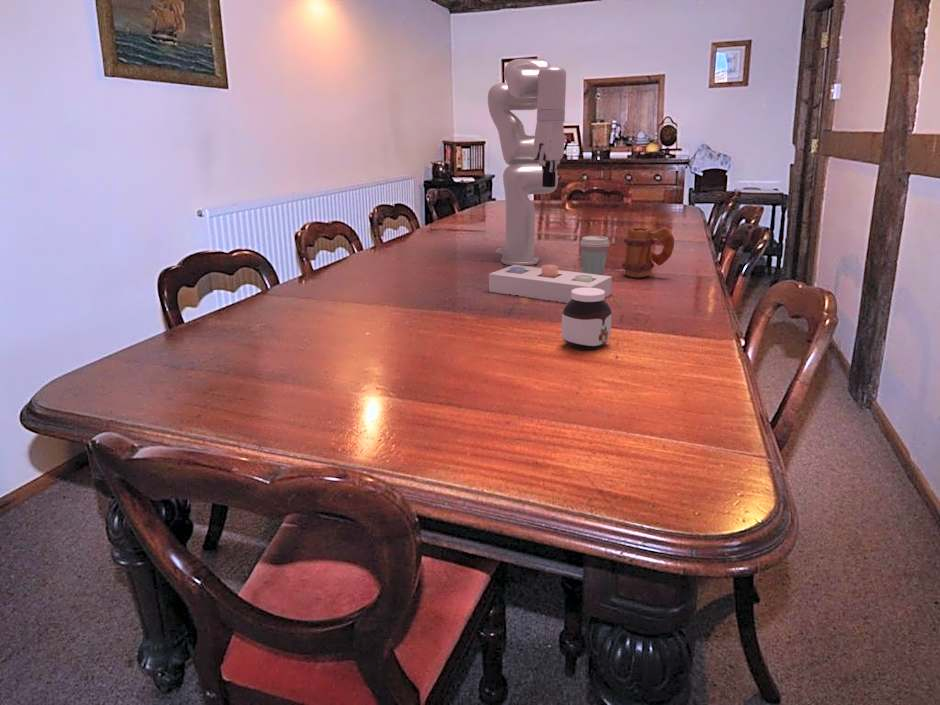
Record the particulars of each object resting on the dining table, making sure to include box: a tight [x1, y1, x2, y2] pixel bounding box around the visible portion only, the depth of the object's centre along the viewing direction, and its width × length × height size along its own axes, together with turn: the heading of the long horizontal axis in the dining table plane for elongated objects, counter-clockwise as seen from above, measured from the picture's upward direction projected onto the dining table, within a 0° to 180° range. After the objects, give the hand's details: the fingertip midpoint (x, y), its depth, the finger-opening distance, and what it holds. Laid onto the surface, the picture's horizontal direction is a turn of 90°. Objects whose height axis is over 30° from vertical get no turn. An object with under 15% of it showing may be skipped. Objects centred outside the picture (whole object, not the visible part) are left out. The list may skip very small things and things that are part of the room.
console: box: [488, 265, 613, 304], centre depth 179 cm, size 30×14×5 cm, turn 57°
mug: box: [621, 226, 675, 279], centre depth 194 cm, size 15×8×15 cm, turn 62°
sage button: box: [575, 275, 592, 283], centre depth 174 cm, size 4×4×5 cm
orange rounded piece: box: [541, 263, 559, 278], centre depth 178 cm, size 4×4×5 cm
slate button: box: [510, 267, 525, 274], centre depth 184 cm, size 4×4×5 cm
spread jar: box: [560, 287, 613, 351], centre depth 138 cm, size 12×11×12 cm
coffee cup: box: [579, 235, 610, 275], centre depth 194 cm, size 8×8×12 cm
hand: (548, 186), depth 184 cm, fingers closed
